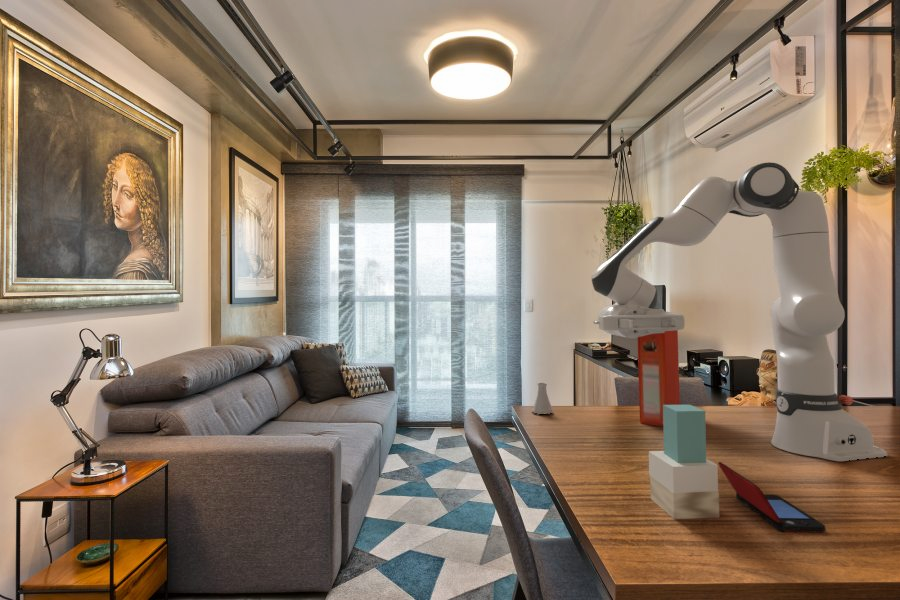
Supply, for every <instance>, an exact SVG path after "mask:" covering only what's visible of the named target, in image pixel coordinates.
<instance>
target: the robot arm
mask: <svg viewBox="0 0 900 600" xmlns="http://www.w3.org/2000/svg"><path fill="white" fill-rule="evenodd" d="M728 213H729V214H734V215H737V216H741V217H747V218H752V217H754V218H755V217H759V216H762V215H766V216H767V217H768V219H769V220H770V223H771V226H772V250H773V251H772V253H773V269H774V273H775V274H776V279H777V283H778V288H779V293H780V296H779V297H778V298H776V299H775V300H774V301H773V303H772V305H771V307H770V310H769V311H770V312H769V313H770V318H771V328H772V336H773V342H774V348H775V353H776V354H775V355H776V366H777V368H776V369H777V370H776V371H777V388H776V389H775V403H776V404H775V406H776V410H777V412H776V422H775V426H774V427H775V428H774V433H773V436H772V438H771V440H770V443H771V445H772V446H774V447H775V448H778V449H780V450H783V451H785V452H789V453H793V454H797V455H801V456H808V457H815V458H821V459H825V460H827V461H828V460H829V461H835V462H846V461H847V462H849V460H850V461H858V460H857V459H859V460H865V459H866V458H869V459H875V458H876V457H878V458H884V456H886V457H888V452H887V451H886V449H883V448H881V447H880V446H877V445H874V439H873V434H872V432H871V430H870V428H869V427H868V426H867V424H865V423H863V422H861V421H860V420H859V419H858V418H855V417H854V416H853V415H851V414H850V413H849V412H848V411H846V410H844V408H843V405H842V404H845V405H848V406H850V405H852V404H853V403H854V399H853V398H852V396H850V395H849V396H848V395H844V394H841V395H838V394H837V393H836V391H835V389H836V388H835V387H836V386H835V361H834V358H833V356H832V354H831V350H830V347H829V343H828V339H827V336H828V335H829V334H832V333H834V332H835V331H837V330H838V329H839V328H840V327H841V326H842V325H843V324H844V323H843V322H844V320H845V319H846V318H845V317H846V315H845V314H846V312H845V309H844V307H843V305H842V304H841V301H840V297H839V293H838V288H837V284H836V281H835V277H834V275H833V271H832V269H833V268H832V263H831V252H830V251H831V250H830V231H829V221H828V215H827V211H826V207H825V204H824V200H823V198H822V197H821V195H820V194H819V193H816V192H814V191H810V190H800V186H799V184H798V183H797V182H796V180H795V179H794V178H793V177H792V175H791V174H790V172H789V170H787V168H786V167H784V166H783V165H782V164H779V163H777V162H763V163H759V164H756V165H754V166H752V167H750V168H748V169H747V170H746V171H744V173H743V174H742V175H741V176H740V177H739V178H738V179H737V180H734V181H732V180H731V181H729V180H727V179H725V178H722V177H719V176H707V177H705V178H703V179H702V180H701V181H700V182H698V183H697V184H696V185H695V186H694V187H693V188H692V189H691V190H690V191H689V192H687V194H686V195H685V196H684V198H683V199H682V200H681V201H680V202H679V204H678V205H677V206H676V208H674V209H673V211H670V212H669V213H668V214H667V215H664V216H656V217H654V218H652V219H651V220H649V221H648V222H646V223H645V224H643V226H642V227H641V228H640V229H638V230H637V232H635V233H634V234H633V235H632V236H631V237H630V238H629V239H628V240H627V241H626V242H625V243H624V244H623V245H622V246H621V247H619V248H618V250H616V252H614V253H613V254H612V255H611V256H610V257H609V258H607V259H606V260H605V261H604V262H602V263H601V264H600V265H599V266H598V267H597V268H596V269H595V270H594V272H593V274H592V275H591V283H592V284H591V285H592V287H593V290H594V291H595V292H597V293H598V294H601V295H602V296H604V297H606V298H608V299H610V300H611V301H612V302H614V303H613V304H611V305H608V306H604V307H603V308H601V310H599V313H598V314H597V320H593V321H592V323H593V325H594V324H595V325H598V328H599V330H602V331H603V332H605V333H607V334H609V335H612V336H618V337H623V338H628V339H638V337H641V336H645V335H649V334H660V333H664V332H665V331H674V330H678V331H681V330H684V329H685V325H686V324H685V323H686V322H685V316H684V314H682V313H679V312H672V311H665V310H664V309H663V308H656V306H657V303H658V289H657V287H656V286H654V285H653V284H652V283H650V282H649V281H647V280H646V279H644V278H643V277H641V276H639V275H638V274H637V273H634V272H633V271H632V270H630V269H628V267H626V266H627V265H628V263H629V262H631V260H633V259H634V258H635V257H636V256H637V255H638V254H639V253H640V252H641V251H642V250H643V249H644V248H645V247H646V246H648V245H649V244H652V243H665V244H669V245H673V246H678V247H691V246H695V245H698V244H700V243H703V241H705V239H707V238H708V237H709V235H710V234H711V233H712V232H713V231H714V229H715V228H716V227H717V226H718V225H719V223H720V222H721V221H722V219H723V218H724V217H725V216H727V214H728ZM876 459H877V458H876ZM866 460H867V459H866Z"/></svg>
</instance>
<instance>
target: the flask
mask: <svg viewBox="0 0 900 600" xmlns="http://www.w3.org/2000/svg"><path fill="white" fill-rule="evenodd" d="M536 384H537V394H536V395H537V396H536V398H535V401H534V404H533V407H535V408H533V407H532V411H533V412H534V413H542V414H544V413H552V412H554V410H553V406H552V405H551V402H550V398H549V396H548V392H547V385H548V384H547V382H537V383H536ZM532 411H531V412H532ZM534 413H533V414H534ZM552 414H553V413H552Z"/></svg>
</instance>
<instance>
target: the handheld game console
mask: <svg viewBox="0 0 900 600" xmlns="http://www.w3.org/2000/svg"><path fill="white" fill-rule="evenodd" d="M717 465H718V467H719V468H720V470H721V471H722V473H723V474H724V476H725V478H726V479H727V481H728V482H729V483H730V485H731V487H732V488H733V489H734V491H735V498H736V500H737V501H739V503H742V504H743V505H744V506H746V507H747V508H748V509H750V510H751V511H753V512H755V513H757V512H758V513H757V514H758V515H759V516H760V517H761V518H762V520H763V521H765V522H767V523H768V524H770V525H771V526H772V527H773V528H774V529H776V530H777V531H779V532H781V533H784V532H785V533H787V532H788V533H790V532H791V533H793V532H794V533H824V532H825V531H826V526H825V524H823V523H822V522H820V521H819V520H818V519H815V518H814V517H813V516H811V515H809V514H808V513H806V512H805V511H803V510H802V509H801V508H799V507H797V506H796V505H794V504H792V503H791V502H789V501H788V500H786V499H784V498H783V497H781V496H779V495H777V494H767V493H766V494H764V493H763V492H764V491H762V490H761V488H760V487H759V486H758V485H756V484H755V483H754V482H753V481H751V480H749V479H748V478H746V477H745V476H743V475H741V474H740V473H738V472H737V471H735V470H734V469H732V468H730V467H729V466H727V465H726V464H725V463H723V462H721V461H718V464H717Z"/></svg>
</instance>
